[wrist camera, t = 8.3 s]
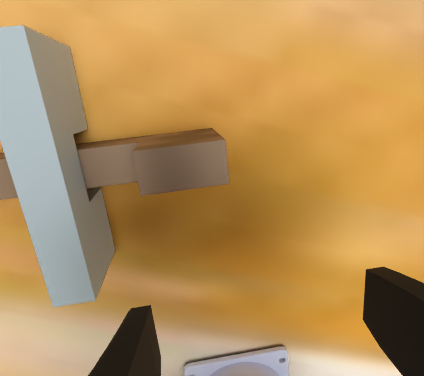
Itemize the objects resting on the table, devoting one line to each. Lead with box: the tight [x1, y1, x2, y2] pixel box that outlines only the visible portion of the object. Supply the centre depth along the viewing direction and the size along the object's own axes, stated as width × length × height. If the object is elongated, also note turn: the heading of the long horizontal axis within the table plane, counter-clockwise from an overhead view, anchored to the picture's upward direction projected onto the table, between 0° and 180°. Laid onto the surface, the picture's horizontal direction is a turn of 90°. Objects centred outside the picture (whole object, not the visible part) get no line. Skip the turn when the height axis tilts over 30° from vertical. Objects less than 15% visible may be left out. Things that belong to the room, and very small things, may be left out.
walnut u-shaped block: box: [0, 128, 229, 200], centre depth 15 cm, size 16×2×5 cm, turn 96°
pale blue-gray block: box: [0, 25, 115, 307], centre depth 15 cm, size 12×2×5 cm, turn 6°
